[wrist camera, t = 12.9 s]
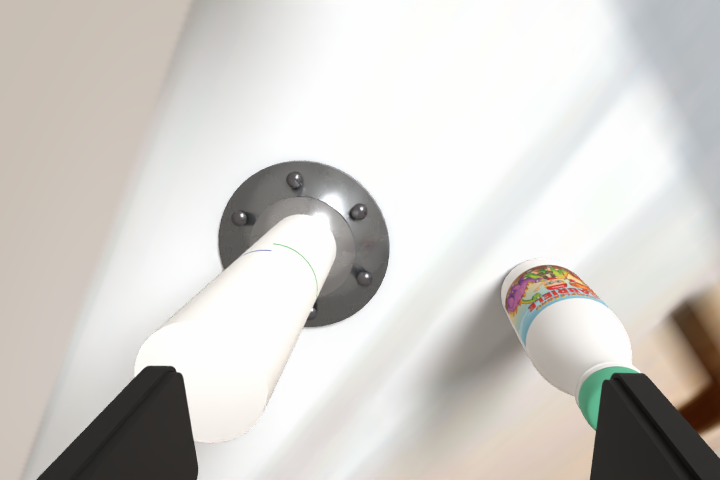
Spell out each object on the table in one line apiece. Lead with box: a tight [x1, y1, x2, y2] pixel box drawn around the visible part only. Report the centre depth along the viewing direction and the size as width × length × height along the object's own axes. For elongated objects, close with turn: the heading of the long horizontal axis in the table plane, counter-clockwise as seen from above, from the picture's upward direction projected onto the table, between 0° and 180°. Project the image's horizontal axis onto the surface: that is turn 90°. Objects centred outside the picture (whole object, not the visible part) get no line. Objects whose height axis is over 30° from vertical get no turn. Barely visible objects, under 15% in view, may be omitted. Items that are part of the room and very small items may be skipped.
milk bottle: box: [501, 258, 641, 430], centre depth 39 cm, size 8×8×20 cm
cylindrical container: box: [134, 214, 336, 443], centre depth 36 cm, size 7×7×25 cm
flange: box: [219, 161, 389, 327], centre depth 49 cm, size 18×18×1 cm
